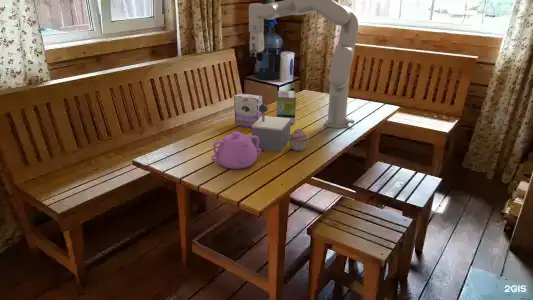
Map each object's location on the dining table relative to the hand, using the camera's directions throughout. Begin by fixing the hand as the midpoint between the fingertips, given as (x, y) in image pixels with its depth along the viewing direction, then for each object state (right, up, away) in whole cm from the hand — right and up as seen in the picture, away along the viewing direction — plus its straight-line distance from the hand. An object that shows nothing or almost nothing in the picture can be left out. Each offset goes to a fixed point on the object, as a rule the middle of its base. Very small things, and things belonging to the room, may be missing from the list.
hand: (256, 62), depth 220 cm
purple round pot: (-6, -53, -46) cm, 70 cm away
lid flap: (+8, -34, -28) cm, 45 cm away
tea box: (+16, -30, +10) cm, 35 cm away
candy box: (-4, -34, 0) cm, 34 cm away
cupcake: (+20, -46, -29) cm, 58 cm away
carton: (+7, -43, -24) cm, 50 cm away
